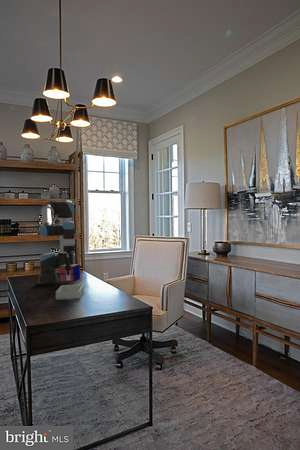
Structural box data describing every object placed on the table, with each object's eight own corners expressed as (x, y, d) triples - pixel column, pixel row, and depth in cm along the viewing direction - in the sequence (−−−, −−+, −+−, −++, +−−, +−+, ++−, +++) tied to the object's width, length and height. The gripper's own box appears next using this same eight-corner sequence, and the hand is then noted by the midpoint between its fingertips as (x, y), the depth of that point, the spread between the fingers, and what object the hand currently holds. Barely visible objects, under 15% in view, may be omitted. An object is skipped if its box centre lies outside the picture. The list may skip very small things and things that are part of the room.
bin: (61, 292, 227) (61, 285, 227) (83, 291, 229) (83, 284, 228) (55, 299, 208) (55, 291, 208) (80, 298, 210) (79, 291, 209)
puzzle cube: (74, 282, 212) (73, 266, 212) (59, 281, 214) (59, 266, 214) (80, 278, 222) (79, 264, 222) (66, 278, 224) (65, 263, 224)
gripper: (66, 243, 229) (67, 275, 229) (59, 247, 205) (60, 282, 206) (77, 243, 229) (78, 275, 230) (72, 246, 206) (73, 281, 207)
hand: (70, 278), depth 218 cm, fingers closed on puzzle cube, 11 cm apart
